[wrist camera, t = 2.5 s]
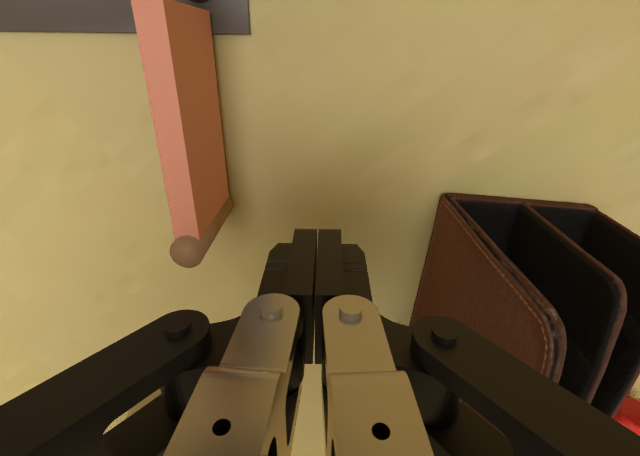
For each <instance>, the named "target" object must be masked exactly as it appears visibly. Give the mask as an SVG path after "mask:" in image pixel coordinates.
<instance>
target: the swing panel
mask: <svg viewBox="0 0 640 456" xmlns="http://www.w3.org/2000/svg"><path fill="white" fill-rule="evenodd" d="M131 5H132V10H133V15H134V21H135V26H136V32H137V37H138V42H139V48H140V53H141V59H142V64H143V69H144V75H145V80H146V85H147V91H148V96H149V102H150V107H151V112H152V118H153V123H154V128H155V134H156V139H157V145H158V150H159V155H160V161H161V166H162V172H163V177H164V182H165V188H166V193H167V198H168V204H169V209H170V215H171V220H172V225H173V231H174V236H175V241H174V242H173V244H172V245H171V247H170V256H171V258H172V259H173V261H174V262H175V263H177V264H178V265H180V266H182V267H186V268H191V267H195V266H197V265H199V264H200V263H201V261H202V259H203V258H204V256H205V254H206V252H207V251H208V249H209V247H210V246H211V244H212V242H213V241H214V239H215V237H216V235H217V234H218V232H219V230H220V229H221V227H222V225H223V223H224V222H225V220H226V218H227V217H228V215H229V213H230V212H231V210H232V208H233V202H232V199H231V198H230V197H229V192H228V182H227V173H226V163H225V154H224V145H223V135H222V126H221V116H220V107H219V97H218V88H217V78H216V69H215V59H214V50H213V41H212V31H211V22H210V12H209V11H207V10H204V9H201V8H197V7H194V6H191V5H187V4H184V3H181V2H177V1H174V0H131Z"/></svg>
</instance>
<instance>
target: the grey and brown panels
mask: <svg viewBox="0 0 640 456" xmlns="http://www.w3.org/2000/svg"><path fill="white" fill-rule="evenodd" d="M174 1H177V2H181V3H184V4H187V5H191V6H194V7H197V8H201V9H204V10H207V11H209V12H210V22H211V31H212V34H251V33H250V18H249V2H248V0H174ZM0 31H38V32H122V33H137V32H136V26H135V21H134V15H133V10H132V5H131V0H0Z"/></svg>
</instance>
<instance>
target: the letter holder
mask: <svg viewBox="0 0 640 456" xmlns="http://www.w3.org/2000/svg"><path fill="white" fill-rule="evenodd" d="M427 316H444V317H449V318H452V319H454V320H457V321H459V322H460V323H462V324H464V325H465V326H467V327H469V328H470V329H472V330H473V331H475V332H476V333H478V334H480V335H481V336H483V337H484V338H486V339H488V340H489V341H491V342H492V343H494V344H495V345H497V346H499V347H500V348H502V349H503V350H505V351H506V352H508V353H510V354H511V355H513V356H514V357H516V358H518V359H519V360H521V361H522V362H524V363H525V364H527V365H529V366H530V367H532V368H533V369H535V370H536V371H538V372H540V373H541V374H543V375H544V376H546V377H548V378H549V379H551V380H552V381H554V382H555V383H557V384H559V385H560V386H562V387H563V388H565V389H567V390H568V391H570V392H571V393H573V394H574V395H576V396H578V397H579V398H581V399H582V400H584V401H585V402H587V403H589V404H590V405H592V406H593V407H595V408H597V409H598V410H600V411H601V412H603V413H604V414H606V415H608V416H609V417H611V418H612V419H613V417H614V416H615V414H616V413H617V411H618V410H619V408H620V406H621V404H622V403H623V401H624V400H625V398H626V397H627V395H628V393H629V392H630V390H631V388H632V387H633V385H634V383H635V381H636V379H637V378H638V376H639V374H640V236H638V235H637V234H635V233H633V232H632V231H630V230H629V229H627V228H626V227H624V226H623V225H621V224H619V223H618V222H616V221H615V220H613V219H611V218H610V217H608V216H607V215H605V214H603V213H602V212H600V211H599V210H598V209H597V208H596V207H594V206H592V205H589V204H577V203H566V202H552V201H541V200H529V199H516V198H506V197H494V196H484V195H470V194H457V193H447V194H442V196H441V199H440V203H439V207H438V212H437V216H436V221H435V225H434V229H433V234H432V238H431V243H430V247H429V251H428V255H427V259H426V263H425V267H424V271H423V275H422V279H421V283H420V286H419V290H418V294H417V298H416V302H415V306H414V310H413V314H412V318H411V323H410V327H414V325H415V323H416V322H417V321H418V320H420V319H421V318H423V317H427ZM462 402H463V403H464V404H465V405H467V406H468V407H469V408H470V409H472V410H473V411H474V412H475V413H476V414H478V415H479V416H480V417H481V418H483V419H484V420H485V421H486V422H488V423H489V424H490V425H491V426H493V427H494V428H495V429H496V430H498V431H499V432H500V433H501V434H502V435H504V434H503V433H502V432H501V431H500V430H499V429H498V428H496V427H495V426H494V425H493V424H491V423H490V422H489V421H488V420H486V419H485V418H484V417H483V416H481V415H480V414H479V413H478V412H476V411H475V410H474V409H473V408H471V407H470V406H469V405H468V404H466V403H465V402H464V401H463V400H462ZM504 436H505V435H504ZM505 437H506V436H505ZM506 438H507V437H506Z"/></svg>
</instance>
